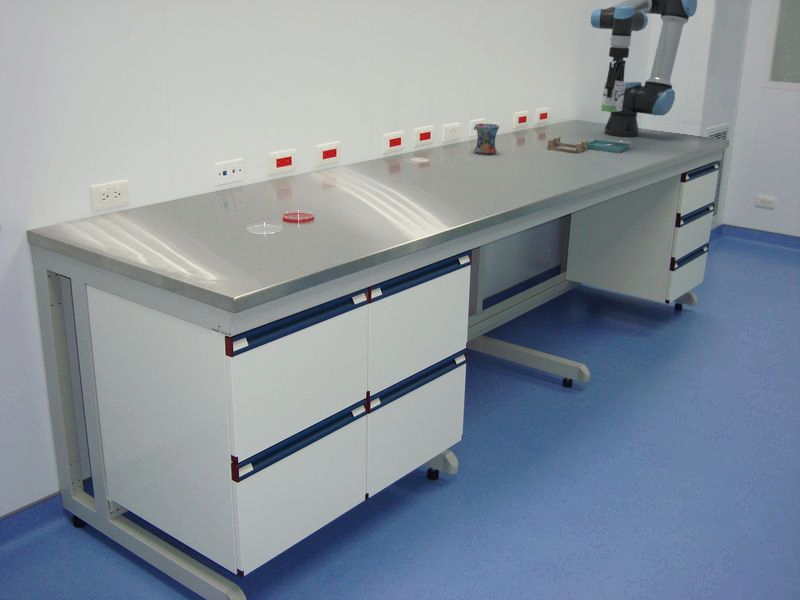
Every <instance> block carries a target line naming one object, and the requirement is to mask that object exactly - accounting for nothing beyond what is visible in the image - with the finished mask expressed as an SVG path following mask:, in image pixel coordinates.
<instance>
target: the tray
mask: <svg viewBox="0 0 800 600" xmlns="http://www.w3.org/2000/svg"><path fill="white" fill-rule="evenodd" d="M606 144H612V145H606ZM630 145H631V144H630V143H625V142H617V141H609V140H602V139H592V140H590V141H588V145H587V149H586V150H592V151H593V150H594V151H602V152H608V153H609V152H610V153H615V154H616V153H617V154H620V153H623V152H624V151H627V150H629V149H630Z"/></svg>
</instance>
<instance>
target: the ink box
mask: <svg viewBox="0 0 800 600" xmlns="http://www.w3.org/2000/svg"><path fill="white" fill-rule="evenodd" d="M606 82H607V80H605V81H604V84H603V86H604V87H603V94H602V101H601V102H602V103H601V109H600V110H601V112H608V113H611V112H617V111H622V106H623V99H624V91H625V84H626V81H624V82H623V81H617V80H616V81H615V85H614V96H613V103H612V106H605V101H606V94H607V89H605V87H606Z"/></svg>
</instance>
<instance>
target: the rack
mask: <svg viewBox="0 0 800 600" xmlns="http://www.w3.org/2000/svg"><path fill="white" fill-rule="evenodd" d="M560 141H561V136H557V137H554V138H552V139H549V140H547V150H549V151H557V152H564V153H571V154H579V153H582V152H583V151H586V150H588V149H587V145H588V142H589V141H588V140H584V141H581V142H579V143H576V144H572V143H562V142H560ZM560 147H567V148H560ZM568 148H569V149H568ZM570 148H575V149H570Z"/></svg>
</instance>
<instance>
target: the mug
mask: <svg viewBox="0 0 800 600" xmlns="http://www.w3.org/2000/svg"><path fill="white" fill-rule="evenodd" d="M474 126H475V129H476V133H477V142H476V145H475V148H474V151H475V152H476V153H477V154H482V155H492V154H496V152H497V149H496V137H497V134H498V132H499V129H500V125H498V124H494V123H476V124H475V125H474Z"/></svg>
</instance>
